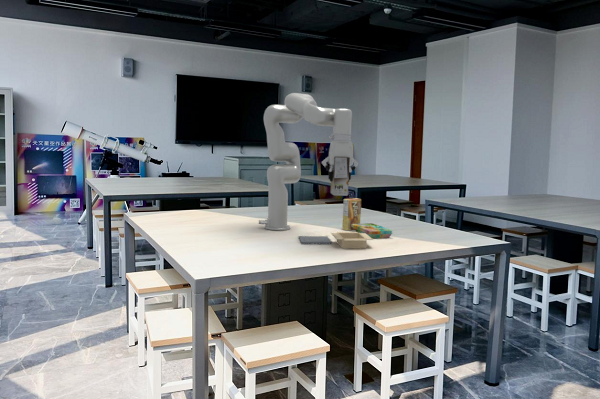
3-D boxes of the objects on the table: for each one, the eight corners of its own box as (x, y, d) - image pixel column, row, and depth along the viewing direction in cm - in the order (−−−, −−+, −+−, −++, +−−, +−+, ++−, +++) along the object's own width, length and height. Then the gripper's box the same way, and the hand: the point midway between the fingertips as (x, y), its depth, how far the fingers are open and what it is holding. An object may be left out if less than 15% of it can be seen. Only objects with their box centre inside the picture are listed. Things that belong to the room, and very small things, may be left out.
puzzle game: (369, 229, 225) (351, 222, 244) (368, 239, 226) (351, 231, 245) (392, 228, 229) (373, 221, 248) (391, 238, 229) (372, 231, 248)
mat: (301, 244, 210) (301, 241, 210) (298, 238, 223) (298, 236, 223) (332, 244, 211) (332, 242, 211) (327, 238, 224) (327, 236, 224)
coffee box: (348, 196, 207) (350, 157, 205) (333, 195, 207) (335, 156, 204) (344, 193, 216) (346, 156, 214) (329, 192, 216) (331, 155, 214)
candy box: (354, 227, 254) (355, 198, 253) (360, 229, 251) (361, 198, 249) (341, 229, 249) (343, 198, 247) (347, 230, 246) (349, 199, 244)
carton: (336, 249, 202) (337, 239, 201) (329, 240, 220) (330, 231, 219) (373, 249, 203) (374, 239, 203) (363, 240, 221) (363, 231, 221)
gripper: (322, 138, 204) (320, 181, 206) (364, 139, 206) (361, 182, 208) (319, 137, 211) (317, 179, 213) (359, 139, 213) (357, 181, 215)
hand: (339, 181), depth 211 cm, fingers closed on coffee box, 6 cm apart
